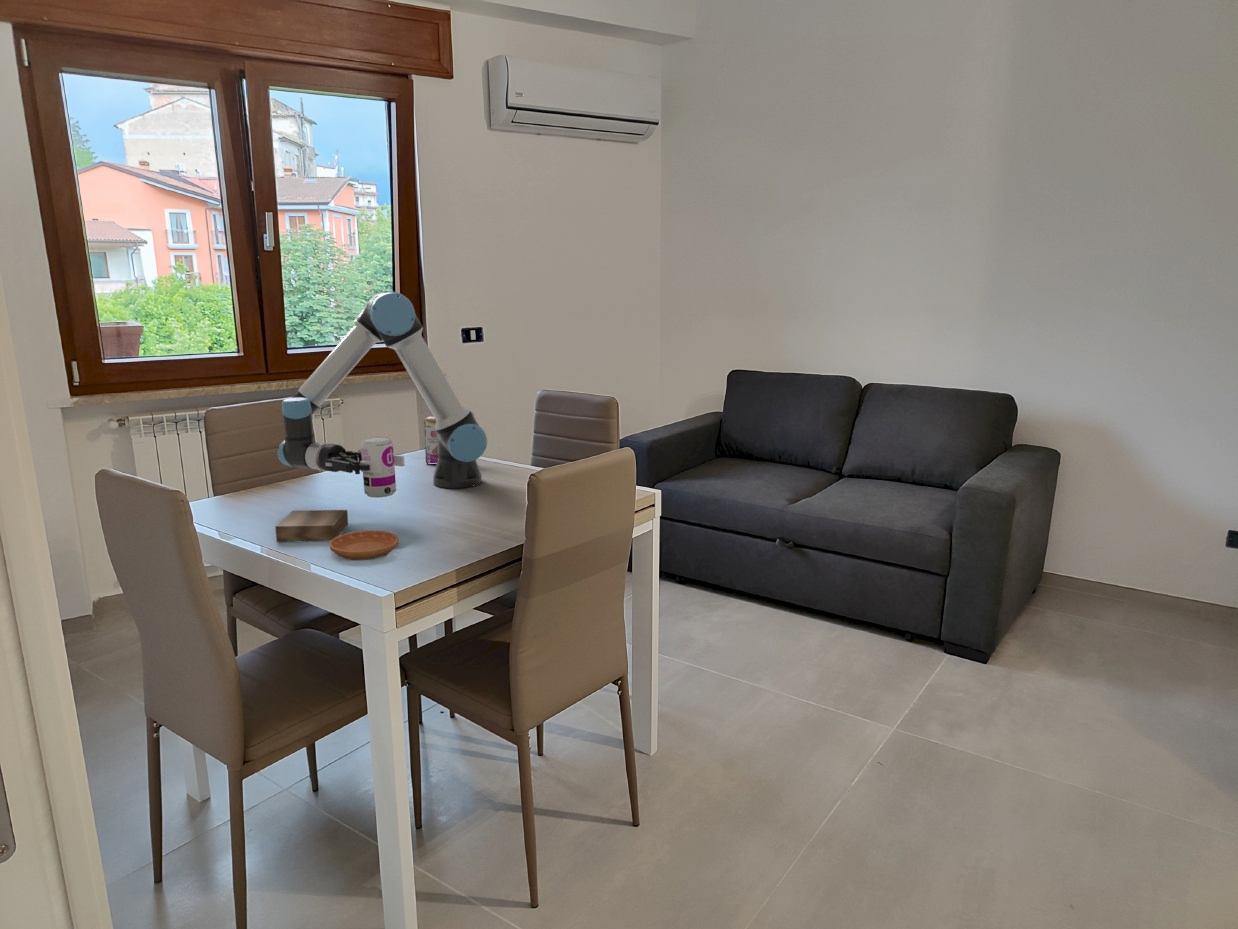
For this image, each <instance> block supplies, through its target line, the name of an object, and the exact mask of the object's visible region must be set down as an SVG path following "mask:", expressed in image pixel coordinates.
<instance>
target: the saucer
mask: <svg viewBox="0 0 1238 929" xmlns="http://www.w3.org/2000/svg"><path fill="white" fill-rule="evenodd" d="M399 541H400V538H399V536H398V535H397V534H395V533H394V532H390V531H385V530H378V529H377V530H373V529H371V530H370V529H369V530H368V529H366V530H358V531H357V530H356V531H351V532H347V533H343V534H342V533H341V534H340V535H339V536H337V537H335V538H333V539H332V540H331V541H328V542H329V544H328V546H329V550H330V551H331V552H333V553H334V554H335V555H337V556H338V557H340V558H342V559H345V560H353V561H354V560H355V561H356V560H357V561H360V560H363V561H365V560H371V559H377V558H381V557H384V556H386V555H389V554H390V553H392V552H393V550H394V549H396V547H398V546H399Z"/></svg>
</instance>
